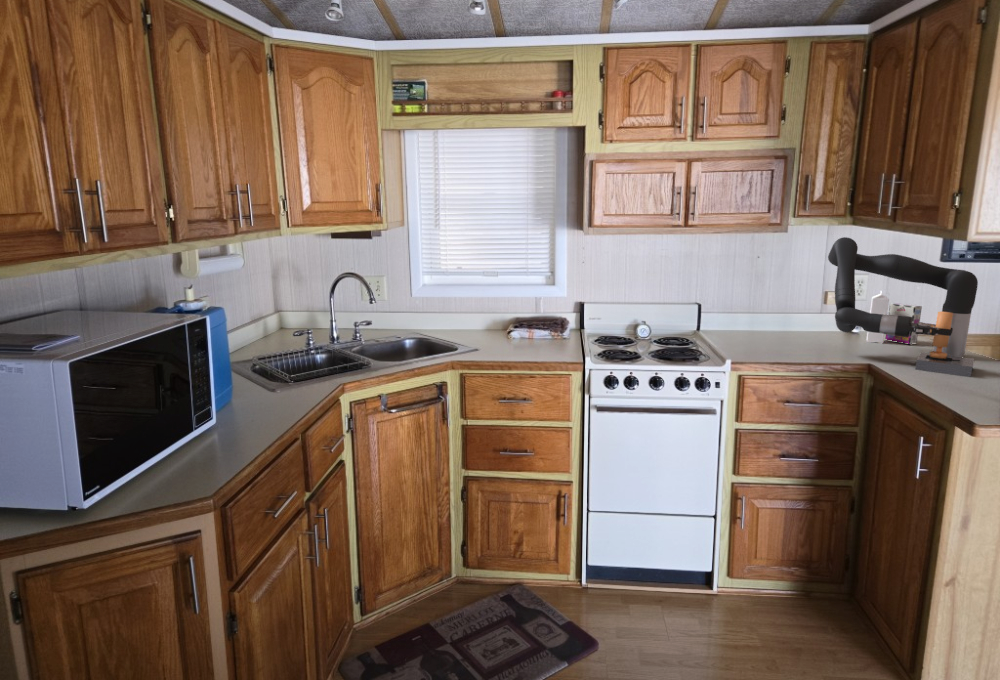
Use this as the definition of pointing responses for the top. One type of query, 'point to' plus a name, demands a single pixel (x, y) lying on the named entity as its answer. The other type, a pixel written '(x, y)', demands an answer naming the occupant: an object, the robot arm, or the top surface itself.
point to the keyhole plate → (945, 364)
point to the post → (941, 340)
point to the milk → (878, 307)
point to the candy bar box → (905, 311)
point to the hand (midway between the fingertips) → (951, 331)
